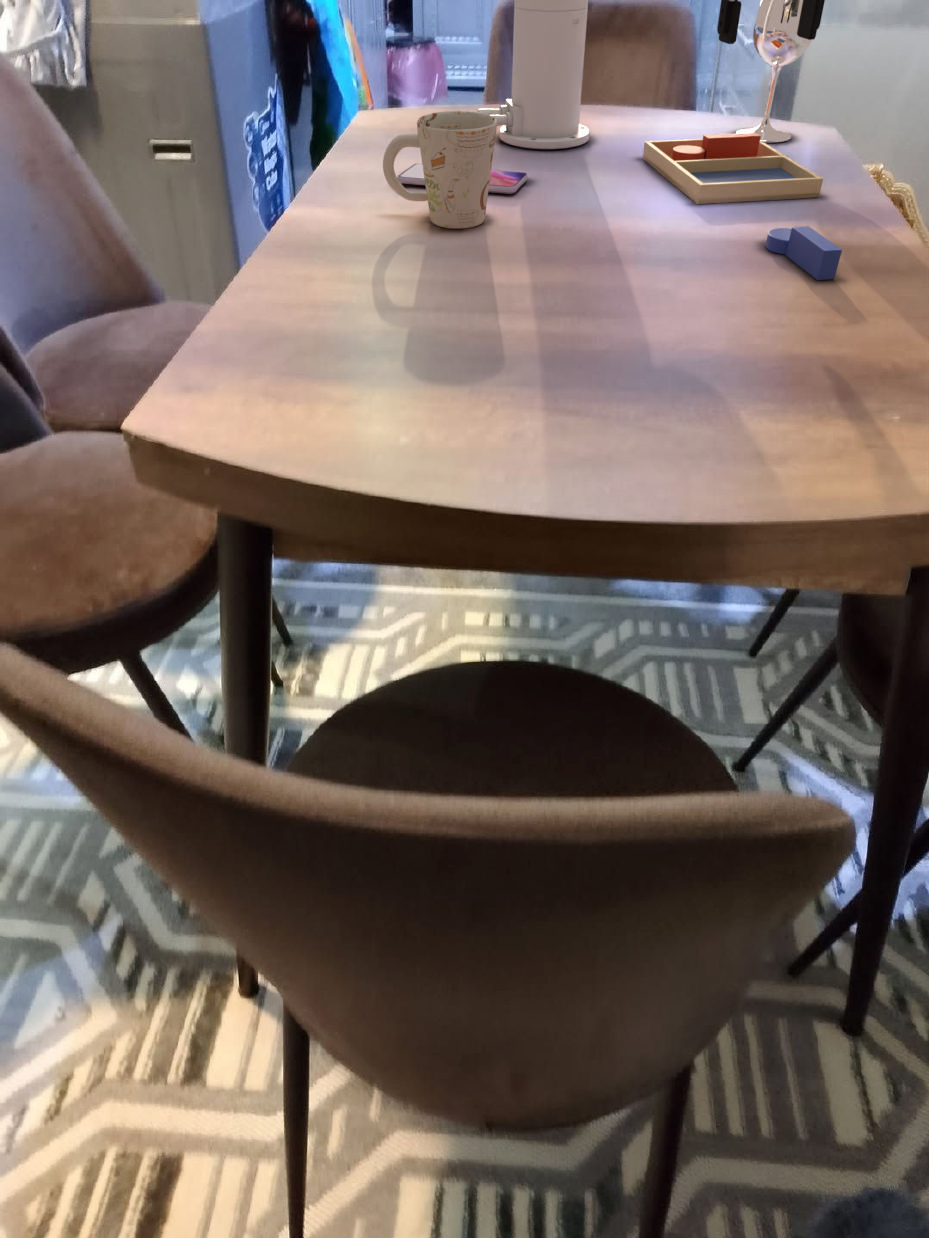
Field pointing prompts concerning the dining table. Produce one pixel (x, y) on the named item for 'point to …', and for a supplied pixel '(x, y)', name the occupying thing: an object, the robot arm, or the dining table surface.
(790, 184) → the tray
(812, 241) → the blue foam brick
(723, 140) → the rust-red brick
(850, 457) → the dining table surface
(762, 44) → the wineglass
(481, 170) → the mug
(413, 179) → the smartphone
